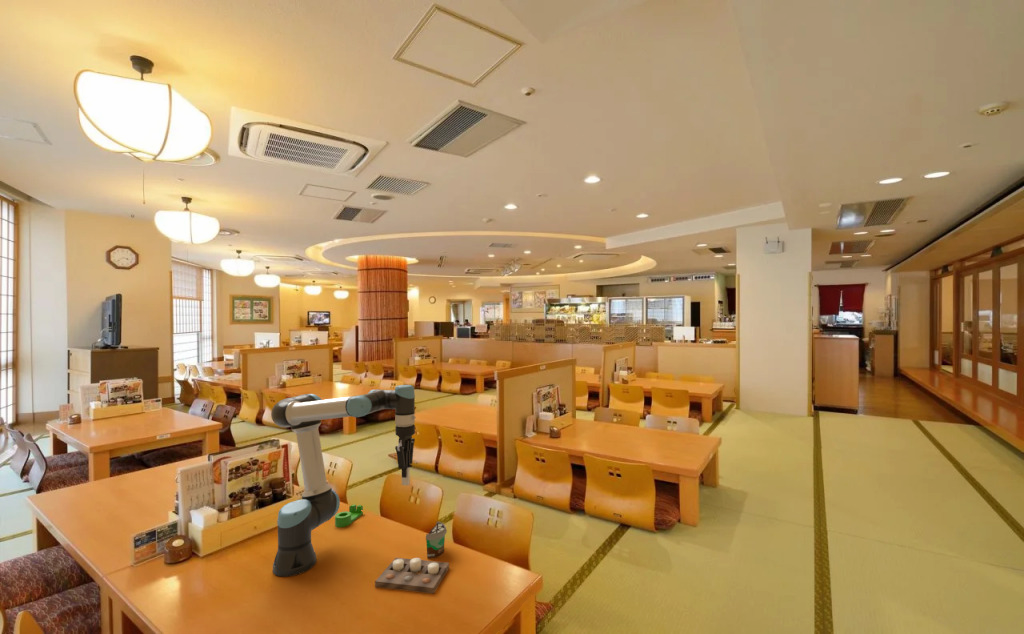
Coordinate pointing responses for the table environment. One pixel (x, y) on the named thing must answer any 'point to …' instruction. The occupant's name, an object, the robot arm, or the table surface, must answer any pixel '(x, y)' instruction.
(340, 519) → the green ring bracket
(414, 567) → the button mid
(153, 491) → the table surface
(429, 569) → the button right
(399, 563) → the button left
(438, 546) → the food container
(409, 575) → the board
